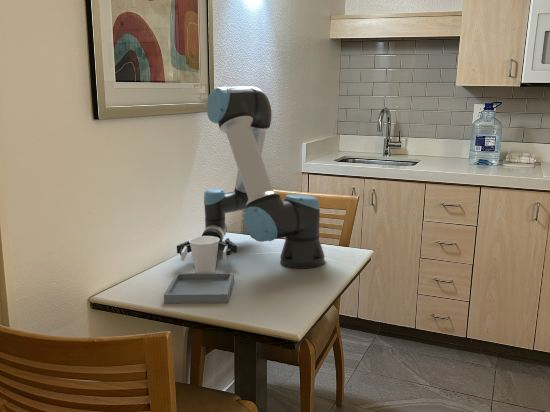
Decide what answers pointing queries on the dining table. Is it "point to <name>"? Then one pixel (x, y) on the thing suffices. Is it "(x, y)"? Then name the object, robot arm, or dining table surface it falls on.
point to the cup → (204, 253)
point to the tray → (199, 288)
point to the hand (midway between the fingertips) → (203, 256)
